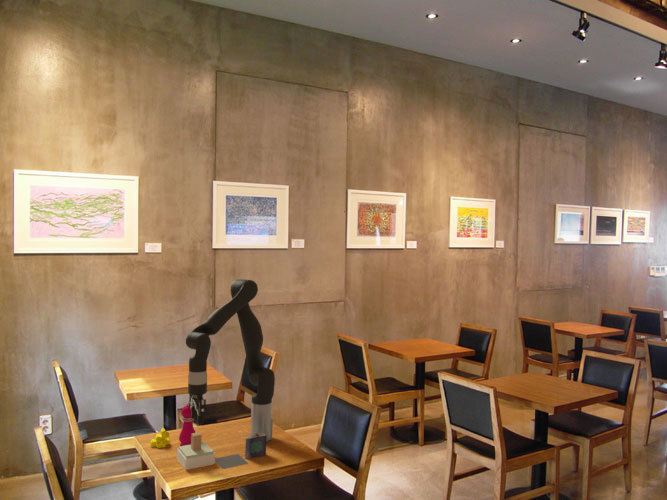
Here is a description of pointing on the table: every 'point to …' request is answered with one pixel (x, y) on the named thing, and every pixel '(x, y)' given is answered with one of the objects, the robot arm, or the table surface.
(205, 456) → the dish
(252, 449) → the flask
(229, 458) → the mat
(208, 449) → the lid
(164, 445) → the yellow lumpy cluster
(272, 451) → the table surface
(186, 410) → the pepper mill
